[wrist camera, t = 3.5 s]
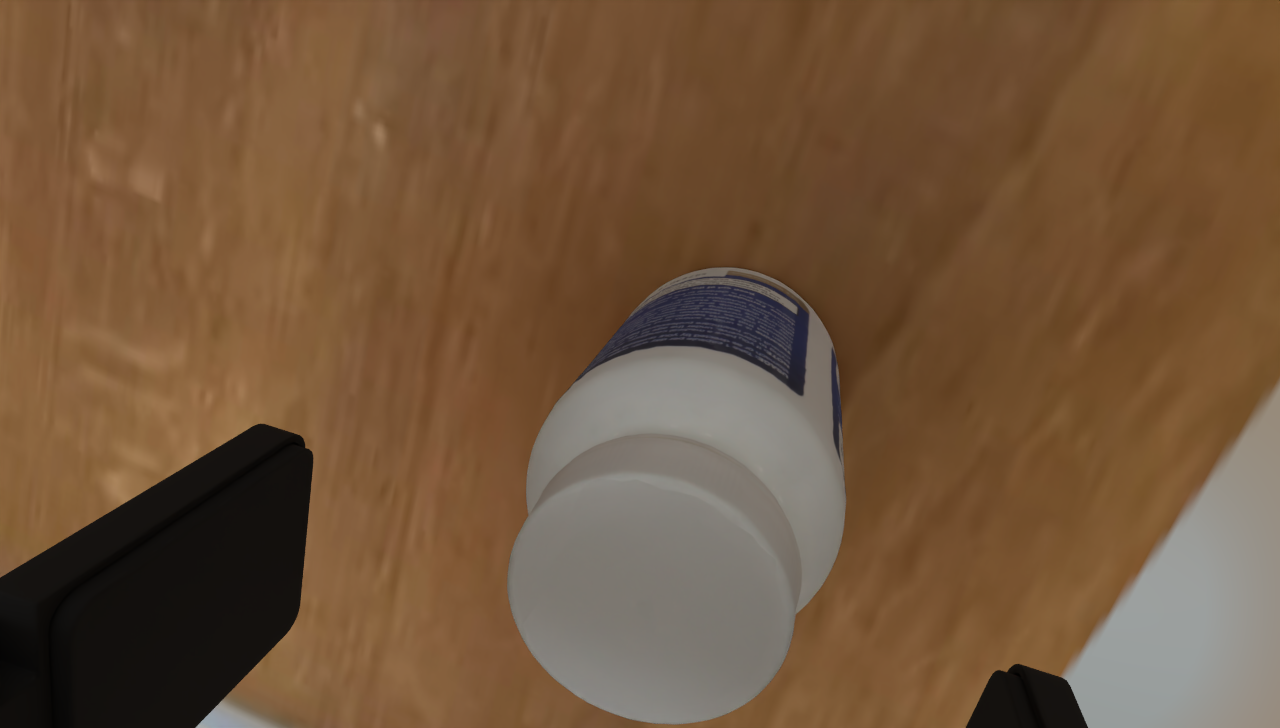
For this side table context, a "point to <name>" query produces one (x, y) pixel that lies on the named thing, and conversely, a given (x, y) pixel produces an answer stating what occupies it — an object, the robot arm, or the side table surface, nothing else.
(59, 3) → the side table surface
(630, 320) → the pill bottle
